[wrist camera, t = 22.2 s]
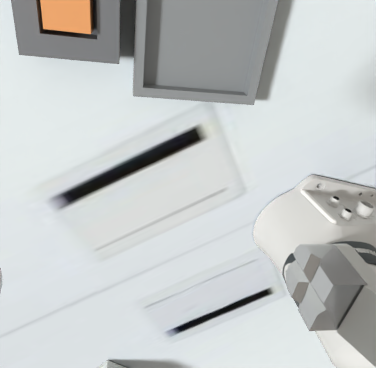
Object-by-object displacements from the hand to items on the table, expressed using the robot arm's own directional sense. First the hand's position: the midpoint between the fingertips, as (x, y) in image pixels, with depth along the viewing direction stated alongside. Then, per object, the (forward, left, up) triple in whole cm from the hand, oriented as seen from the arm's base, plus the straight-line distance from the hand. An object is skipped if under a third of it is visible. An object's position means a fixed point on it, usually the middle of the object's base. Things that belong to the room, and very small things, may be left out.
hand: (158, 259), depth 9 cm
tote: (-7, -3, -31) cm, 32 cm away
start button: (+6, -4, -29) cm, 30 cm away
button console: (+6, -4, -31) cm, 31 cm away
